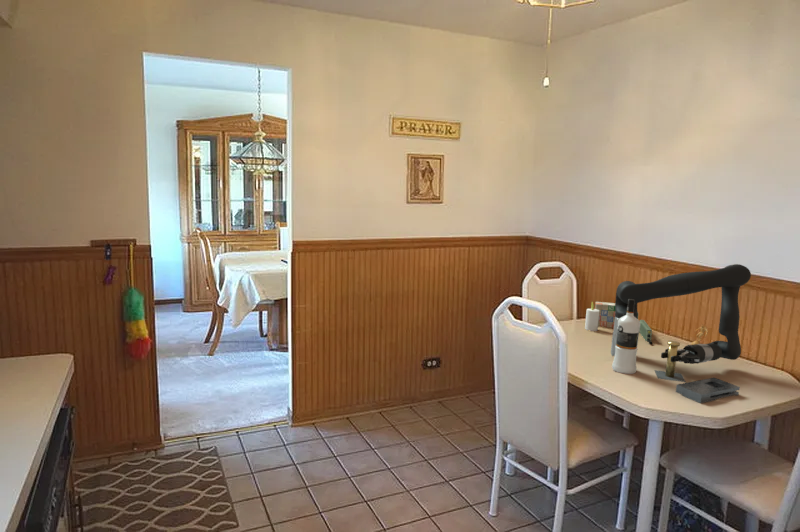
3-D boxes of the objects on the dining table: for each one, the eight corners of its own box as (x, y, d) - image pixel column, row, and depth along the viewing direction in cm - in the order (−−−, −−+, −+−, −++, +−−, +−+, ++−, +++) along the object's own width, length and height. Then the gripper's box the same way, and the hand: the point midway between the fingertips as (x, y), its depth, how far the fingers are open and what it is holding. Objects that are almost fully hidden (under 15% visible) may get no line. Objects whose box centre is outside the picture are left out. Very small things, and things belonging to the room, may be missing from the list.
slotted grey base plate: (700, 403, 191) (701, 394, 190) (675, 392, 200) (676, 384, 199) (738, 395, 200) (739, 386, 199) (713, 385, 209) (714, 377, 208)
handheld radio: (644, 332, 282) (654, 346, 258) (637, 331, 283) (647, 345, 259) (645, 319, 281) (655, 332, 257) (638, 319, 282) (648, 332, 258)
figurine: (686, 346, 259) (689, 322, 257) (698, 346, 259) (701, 322, 257) (696, 352, 251) (700, 326, 249) (709, 352, 251) (712, 327, 249)
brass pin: (664, 377, 215) (668, 343, 213) (662, 373, 219) (666, 339, 217) (676, 378, 213) (680, 344, 211) (674, 374, 218) (678, 341, 215)
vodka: (640, 374, 217) (649, 302, 213) (619, 375, 216) (627, 301, 211) (628, 366, 226) (635, 296, 222) (607, 367, 225) (614, 296, 220)
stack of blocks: (635, 327, 291) (637, 305, 289) (636, 330, 285) (639, 307, 283) (593, 323, 297) (595, 301, 295) (593, 325, 291) (596, 303, 289)
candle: (598, 331, 279) (601, 303, 277) (585, 330, 280) (588, 302, 278) (597, 328, 285) (599, 300, 283) (584, 327, 287) (586, 299, 284)
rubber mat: (657, 379, 213) (657, 378, 213) (654, 371, 222) (654, 370, 222) (685, 383, 210) (685, 382, 210) (681, 374, 219) (681, 373, 219)
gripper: (684, 339, 226) (653, 342, 220) (714, 349, 213) (683, 353, 207) (681, 356, 227) (651, 360, 221) (712, 368, 214) (680, 372, 208)
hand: (666, 357), depth 214 cm, fingers open, 4 cm apart
